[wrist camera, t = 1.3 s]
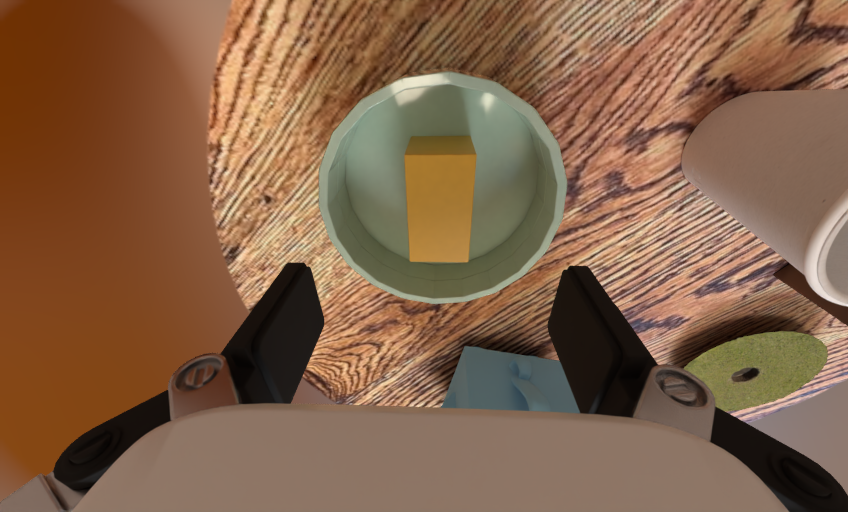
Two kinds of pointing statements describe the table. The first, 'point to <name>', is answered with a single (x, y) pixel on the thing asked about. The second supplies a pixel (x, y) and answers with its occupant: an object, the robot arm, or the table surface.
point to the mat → (759, 368)
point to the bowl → (493, 191)
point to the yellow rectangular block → (439, 197)
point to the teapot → (509, 383)
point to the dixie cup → (782, 176)
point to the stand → (811, 292)
